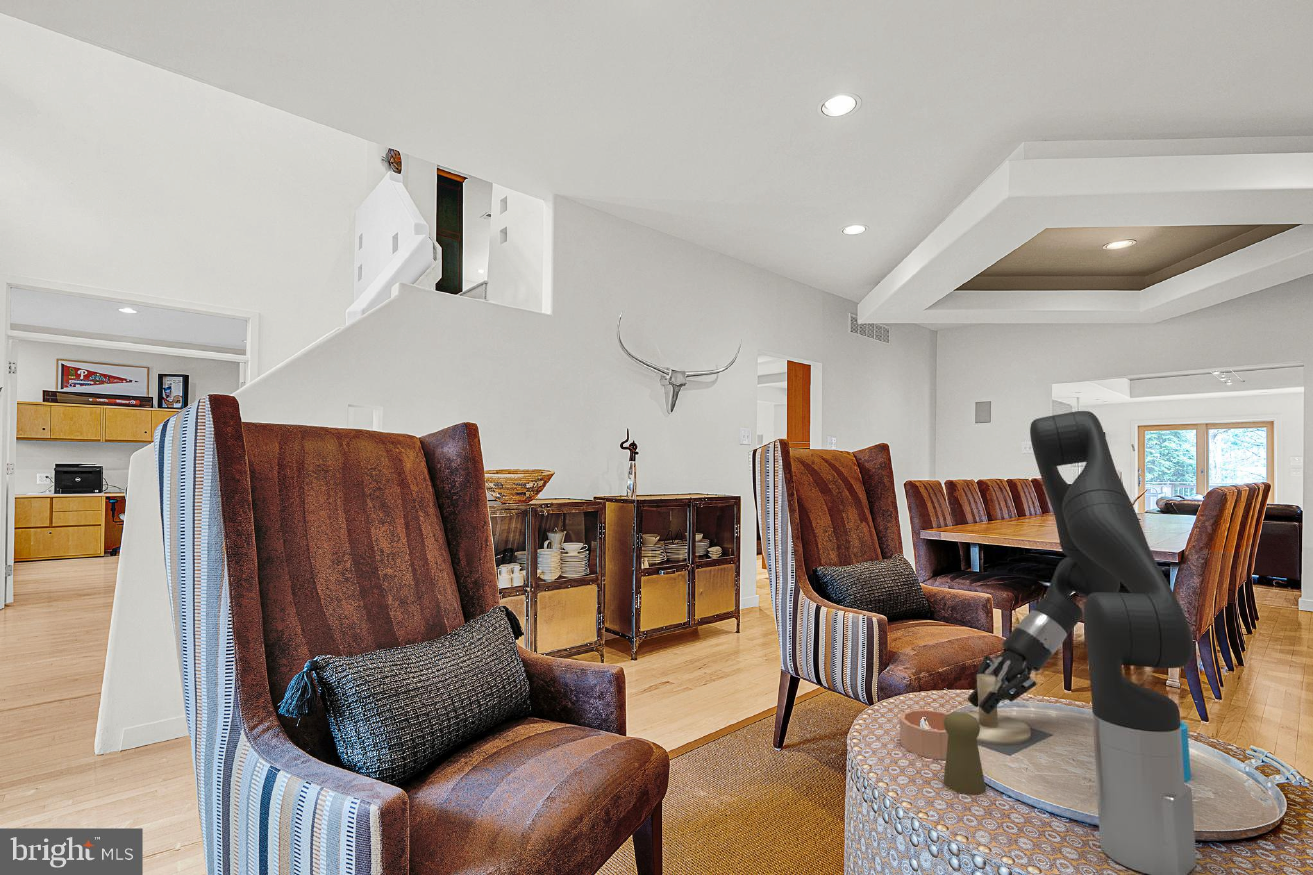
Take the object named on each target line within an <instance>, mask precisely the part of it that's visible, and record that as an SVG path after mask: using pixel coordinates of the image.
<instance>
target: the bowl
mask: <svg viewBox="0 0 1313 875" xmlns="http://www.w3.org/2000/svg"><path fill="white" fill-rule="evenodd" d="M949 713H950V712H945V711H942V710H941V711H940V710H933V709H925V708H924V709H909V710H907V711H903V712H901V713H900V716H899V734H900V736H899V737H900V738H899V740H900V745H901V746H902V748H904V749H905V750H906V751H908V752H909V753H912V754H914V755H916V756H919V757H922V758H927V759H932V760H941V761H942V760H944V761H946V753H947V742H948V733H947V732H946V730H945V727H944V719H945V717H946V715H947V714H949ZM922 717H926V720H927V722H928V724H929V726H931V728H933V729H937V730H933V729H925V728H921V727H920V720H921V719H922Z"/></svg>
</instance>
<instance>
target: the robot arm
mask: <svg viewBox="0 0 1313 875" xmlns="http://www.w3.org/2000/svg"><path fill="white" fill-rule="evenodd" d="M1029 434H1030V435H1029V436H1030V441H1031V448H1032V452H1033V455H1034V458H1035V461H1036V465H1037V467H1038V468H1037V469H1038V472H1039V475H1040V477H1041V478H1040V479H1041V480H1042V484H1043V486H1044V490H1045V493H1046V495H1047V498H1048V500H1049V501H1048V502H1049V503H1050V507H1051V508H1052V512H1053V515H1054V516H1053V517H1054V519H1055V524H1056V528H1057V534H1058V535H1057V536H1058V539H1059V540H1058V541H1059V544H1060V549H1061V552H1062V553H1063V554H1064V556H1066V557H1065V558H1064V559H1062V560H1061V561H1060V562H1059V563H1058V564H1057V566H1056V569H1055V571H1054V574H1053V576H1052V578H1051V580H1050V583H1049V585H1048V587H1047V590H1046V592H1045V594H1044V596H1043V597H1042V598H1041V599H1040V601H1039V602H1037V605H1036V606H1035V607H1034V608H1033V609H1032V610H1031V611H1030V612H1029V613H1028V614H1026V615H1025V616H1024V617H1023V619H1021V621H1019V623H1018V624H1017V625H1016V627H1014V629H1012V631H1011V632H1010V633H1009V635H1008V636H1007V637H1006V638H1005V639H1004V640H1003V642H1002V643H1001V644H1002V647H1003V651H1002V652H1001V653H999V654H998V655H997V656H996V657H994V658H993V657H992V658H991V657H990V656H989V655H988V654H986V655H985V656H984V657H983V659H982V661H981V663H980V664H979V666H978V667H979V668H978V670H977V672H976V674H975V676H974V679H975V680H976V681H977V675H978V674H989V675H993V676H995V677H996V685H995V686H994V688H993V689H992V691H993V692H991V691H990V692H989V693H988V695H987V696H986V697H985V698H984V699H983V700H982V702H981V703H980V704H979V707H980V708H981V709H982V710H983V711H984V712H985V713H986V714H990V713H991V711H993V710H994V708H995V707H996V706H997V707H998V705H999V704H1000V702H1003V701H1007V700H1008V701H1009V702H1013V701H1015V700H1016V699H1018V698H1020V697H1021V696H1022V695H1024V694H1025V693H1027V692H1029V690H1032V689H1033V688H1034V687H1036V686H1037V682H1036V680H1034V678H1033V677H1032V676H1031V674H1032V671H1033V672H1037V673H1038V672H1040V671H1041V669H1042V668H1043V667H1044V666H1045V665H1046V663H1048V661H1049V660H1050V659H1051V658H1052V657H1053V655H1054V654H1055V653H1056V652H1057V650H1058V649H1059V648H1060V647H1061V645H1062V644H1063V642H1064V641H1065V639H1066V638H1067V636H1068V635H1069V634H1070V633H1071V631H1072V630H1073V629H1074V628H1075V627H1076V625H1078V623H1079V622H1080V621H1081V619H1082V618H1083V628H1084V635H1085V643H1086V649H1087V650H1086V651H1087V661H1088V669H1089V670H1088V672H1089V681H1090V682H1089V683H1090V685H1089V686H1090V694H1091V709H1092V725H1093V726H1092V727H1093V744H1094V758H1095V759H1094V762H1095V778H1096V779H1095V780H1096V797H1097V814H1098V832H1099V844H1100V848H1101V850H1102V851H1103V852H1104V854H1106V856H1108V857H1109V858H1110V859H1112V860H1113V861H1115V863H1118V864H1120V865H1122V866H1124V867H1126V868H1129V869H1131V870H1134V871H1137V872H1140V873H1142V874H1147V875H1188V874H1189V873H1190V872H1191V871H1192V870H1193V869H1195V867H1196V866H1197V865H1198V864H1197V853H1196V852H1197V851H1196V838H1195V837H1196V836H1195V822H1194V819H1195V818H1194V809H1193V808H1194V806H1193V793H1192V787H1191V786H1190V785H1188V784H1185V782H1184V769H1183V754H1182V739H1181V724H1180V721H1181V714H1180V713H1181V712H1180V709H1179V706H1178V704H1177V702H1175V701H1174V700H1173V699H1172V698H1170V697H1169V696H1167V695H1165V694H1163V693H1160V692H1157V691H1156V690H1152V689H1151V688H1148V687H1145V686H1142V685H1139V684H1137V683H1135V682H1134V681H1132V680H1130V679H1128V678H1127V677H1126V676H1125V675H1123V670H1122V666H1131V667H1142V668H1144V667H1145V668H1154V669H1155V668H1156V669H1178V668H1179V669H1180V668H1183V667H1185V666H1187V665H1189V663H1190V662H1191V660H1192V658H1193V655H1194V640H1193V635H1192V631H1191V628H1190V625H1189V622H1188V619H1187V616H1186V614H1185V612H1184V610H1183V608H1182V606H1181V604H1180V602H1179V600H1178V599H1177V596H1176V594H1175V593H1174V591H1173V589H1172V588H1171V585H1169V582H1168V581H1167V579H1166V577H1165V576H1164V573H1163V572H1162V570H1161V569H1160V566H1159V564H1158V563H1157V561H1156V559H1155V557H1154V555H1153V552H1152V551H1151V548H1150V545H1149V543H1148V541H1147V538H1146V536H1145V532H1144V531H1143V528H1142V525H1141V523H1140V520H1139V517H1138V514H1137V512H1136V510H1135V508H1134V505H1133V503H1132V500H1131V499H1130V496H1129V495H1128V492H1127V491H1126V488H1125V487H1124V484H1123V482H1122V480H1121V478H1120V476H1119V474H1118V471H1117V470H1116V466H1115V463H1114V460H1113V457H1112V456H1113V455H1112V454H1111V451H1110V448H1109V443H1108V441H1107V438H1106V434H1105V432H1104V428H1103V426H1102V423H1101V422H1100V420H1099V418H1098V417H1097V415H1096V414H1095V413H1093V412H1092V411H1090V410H1077V411H1069V412H1065V413H1059V414H1053V415H1048V416H1043V417H1039V418H1035V419H1033V420H1032V422H1031V423H1030V427H1029ZM1081 463H1085V465H1084V467H1083V468H1082V470H1081V472H1080V473H1079V474H1078V475H1077V477H1076V478H1075V479H1074V481H1073V482H1072V483H1071V484H1068V482H1067V481H1065V479H1064V478H1063V476H1062V474H1061V473H1060V471H1059V469H1058V467H1060V466H1065V465H1067V466H1068V465H1075V464H1081ZM1121 584H1122V585H1123V586H1124V587H1125V588H1126V589H1127V590H1128V591H1129V592H1119V591H1120V588H1121ZM1073 592H1074V593H1077V594H1079V595H1081V596H1083V597H1085V601H1084V604H1083V610H1082V608H1081V606H1080V605H1079V604H1078V603H1077V602H1076V601H1074V600H1073V599H1072V598H1071V594H1072V593H1073ZM967 701H968V702H969V703H970V704H971V705H972V706H973V707H975V708H978V687H977V686H976V687H975V689H973V691H972V692H970V694H969V696H968V698H967Z"/></svg>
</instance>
